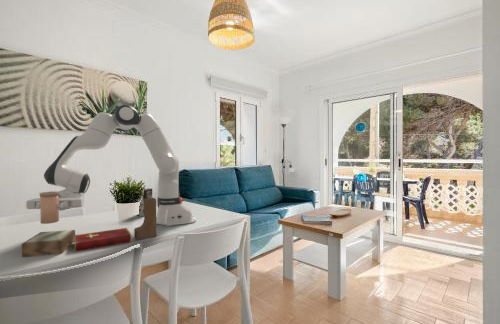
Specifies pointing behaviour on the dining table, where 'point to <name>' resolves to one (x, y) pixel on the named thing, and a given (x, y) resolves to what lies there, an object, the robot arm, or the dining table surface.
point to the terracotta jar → (49, 207)
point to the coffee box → (146, 195)
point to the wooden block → (147, 221)
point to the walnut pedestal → (48, 243)
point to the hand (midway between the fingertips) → (48, 206)
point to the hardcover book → (101, 239)
